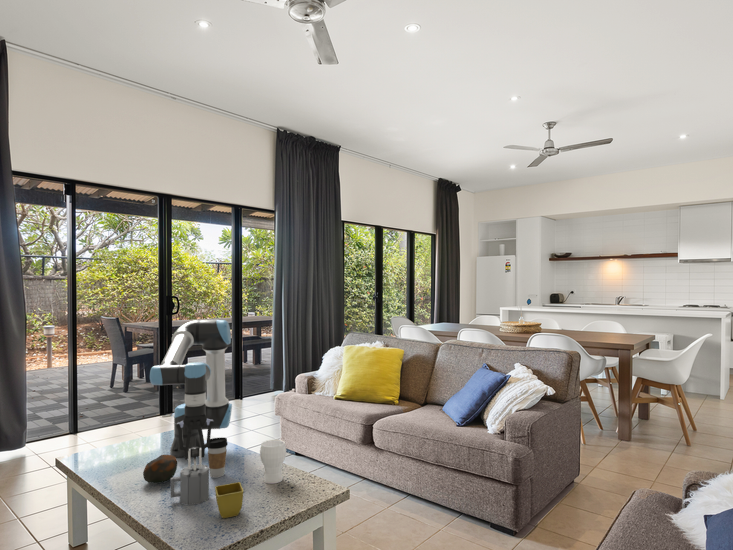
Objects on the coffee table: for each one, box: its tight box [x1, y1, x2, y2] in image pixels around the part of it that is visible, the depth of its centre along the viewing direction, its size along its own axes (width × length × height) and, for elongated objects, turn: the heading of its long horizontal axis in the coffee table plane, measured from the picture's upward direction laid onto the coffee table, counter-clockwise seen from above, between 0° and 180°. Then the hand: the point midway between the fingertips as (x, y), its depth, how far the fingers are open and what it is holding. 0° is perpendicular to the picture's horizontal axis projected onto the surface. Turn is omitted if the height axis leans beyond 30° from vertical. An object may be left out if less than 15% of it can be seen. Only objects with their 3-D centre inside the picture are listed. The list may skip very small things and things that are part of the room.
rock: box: [142, 454, 178, 484], centre depth 191 cm, size 14×11×10 cm
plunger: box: [190, 447, 200, 471], centre depth 175 cm, size 6×6×17 cm
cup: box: [259, 439, 287, 484], centre depth 192 cm, size 11×11×15 cm
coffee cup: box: [207, 437, 228, 479], centre depth 197 cm, size 8×8×15 cm
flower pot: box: [214, 481, 245, 519], centre depth 162 cm, size 9×9×9 cm
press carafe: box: [170, 464, 210, 506], centre depth 174 cm, size 10×14×11 cm
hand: (194, 466), depth 175 cm, fingers closed on plunger, 3 cm apart
